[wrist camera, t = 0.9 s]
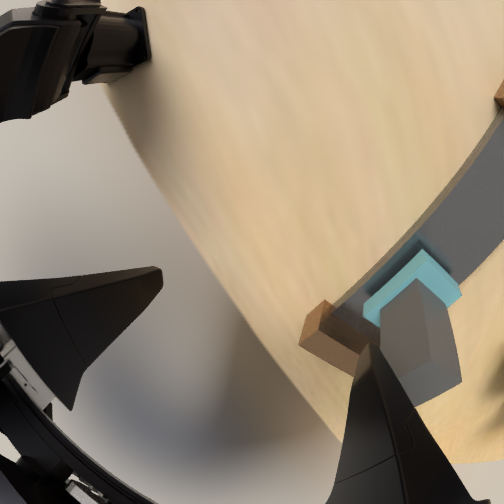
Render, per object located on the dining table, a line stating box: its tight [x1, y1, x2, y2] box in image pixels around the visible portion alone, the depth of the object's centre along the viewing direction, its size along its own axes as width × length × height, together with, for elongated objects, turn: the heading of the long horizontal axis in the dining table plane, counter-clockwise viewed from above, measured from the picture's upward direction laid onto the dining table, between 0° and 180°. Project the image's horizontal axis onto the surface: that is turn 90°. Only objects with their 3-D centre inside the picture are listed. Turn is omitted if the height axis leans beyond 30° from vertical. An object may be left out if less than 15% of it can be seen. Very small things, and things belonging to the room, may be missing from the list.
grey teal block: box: [363, 249, 462, 407], centre depth 16 cm, size 7×5×9 cm
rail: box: [298, 81, 504, 377], centre depth 16 cm, size 30×9×4 cm, turn 151°
